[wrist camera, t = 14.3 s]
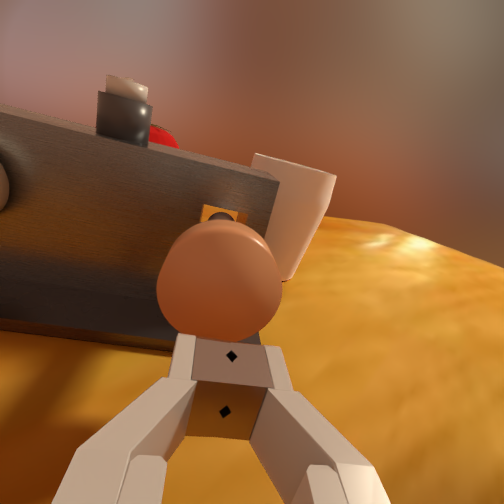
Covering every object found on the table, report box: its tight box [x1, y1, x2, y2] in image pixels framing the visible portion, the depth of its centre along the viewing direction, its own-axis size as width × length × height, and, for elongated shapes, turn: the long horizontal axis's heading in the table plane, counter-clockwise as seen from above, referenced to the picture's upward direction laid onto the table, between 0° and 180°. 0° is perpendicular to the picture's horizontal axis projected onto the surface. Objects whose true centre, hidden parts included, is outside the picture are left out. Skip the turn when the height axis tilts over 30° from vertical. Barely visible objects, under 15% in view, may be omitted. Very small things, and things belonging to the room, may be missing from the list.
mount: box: [0, 104, 280, 352], centre depth 19 cm, size 10×23×11 cm, turn 96°
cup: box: [251, 154, 337, 281], centre depth 31 cm, size 9×9×12 cm
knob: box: [156, 212, 282, 342], centre depth 16 cm, size 9×5×5 cm, turn 6°
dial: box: [96, 75, 153, 144], centre depth 19 cm, size 3×3×4 cm
